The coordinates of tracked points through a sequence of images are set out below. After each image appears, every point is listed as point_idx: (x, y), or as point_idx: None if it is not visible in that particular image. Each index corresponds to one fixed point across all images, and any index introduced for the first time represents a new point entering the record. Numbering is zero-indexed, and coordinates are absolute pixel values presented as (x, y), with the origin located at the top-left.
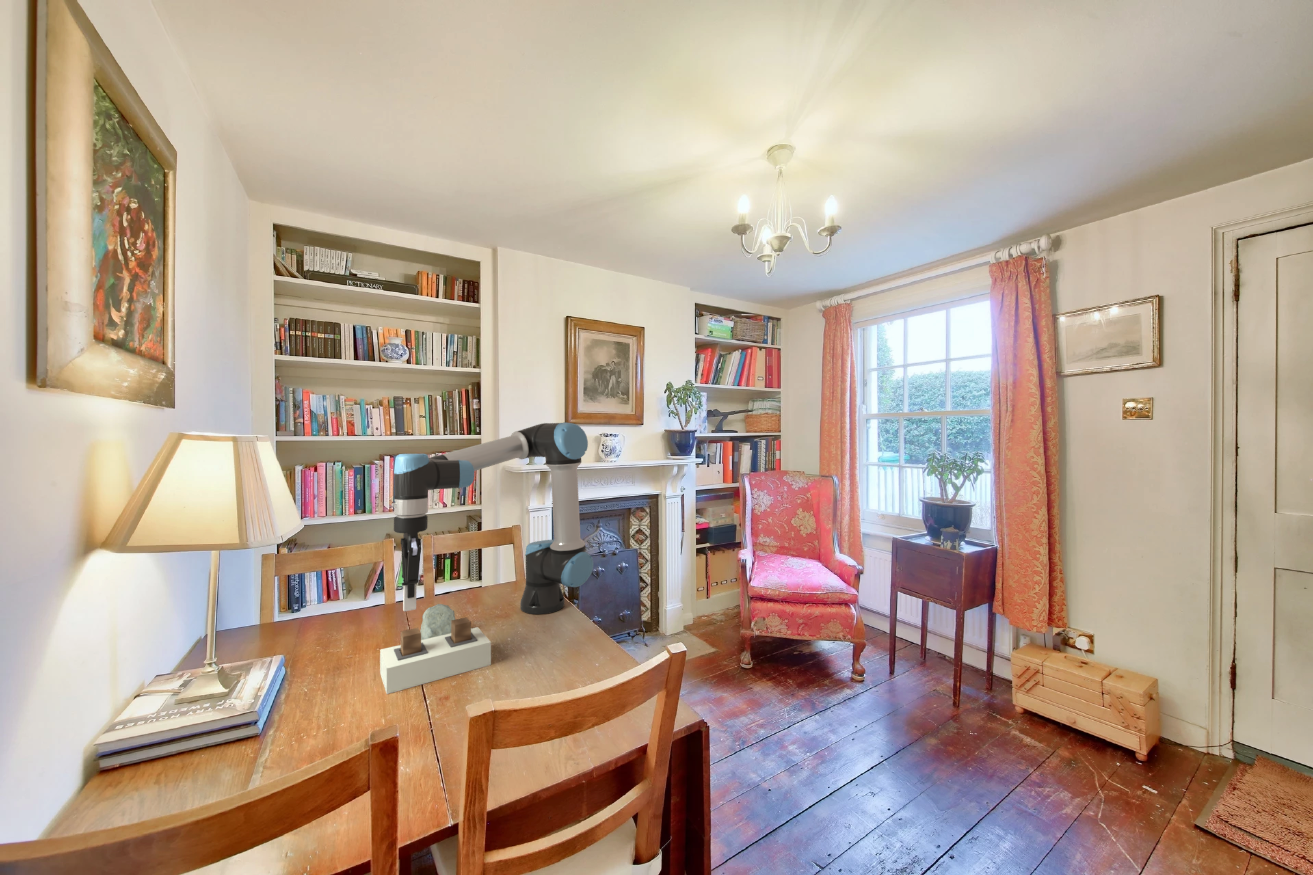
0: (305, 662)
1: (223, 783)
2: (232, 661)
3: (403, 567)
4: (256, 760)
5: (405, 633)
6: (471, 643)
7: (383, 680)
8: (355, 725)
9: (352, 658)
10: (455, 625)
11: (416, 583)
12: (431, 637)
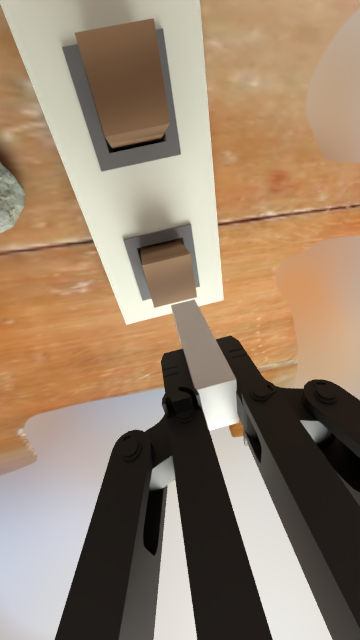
0: (53, 400)
1: (291, 376)
2: (34, 460)
3: (157, 570)
4: (274, 368)
5: (175, 294)
6: (175, 66)
7: None
8: (270, 305)
9: (50, 351)
10: (168, 121)
11: (266, 380)
12: (11, 212)
